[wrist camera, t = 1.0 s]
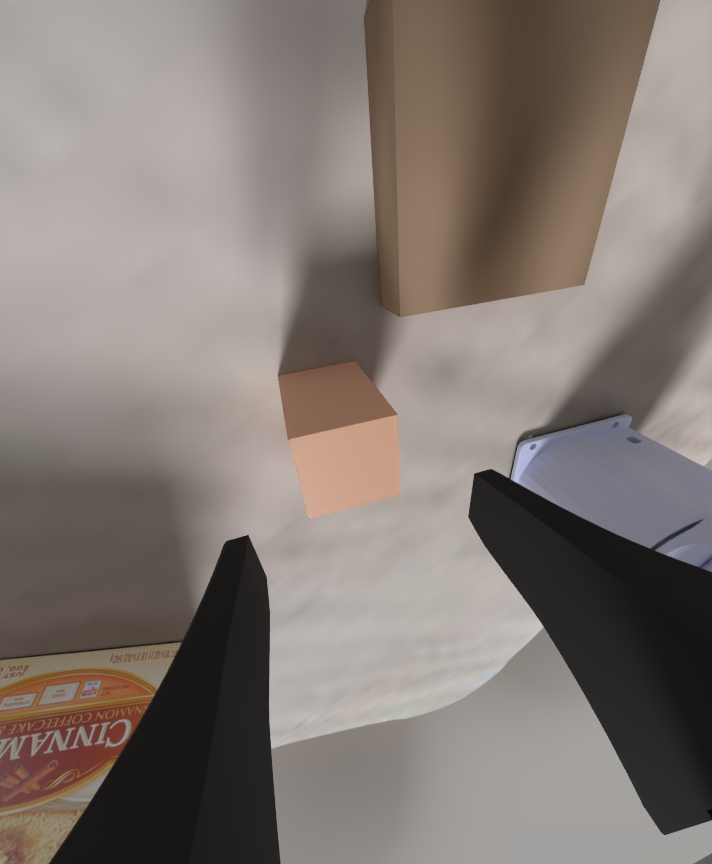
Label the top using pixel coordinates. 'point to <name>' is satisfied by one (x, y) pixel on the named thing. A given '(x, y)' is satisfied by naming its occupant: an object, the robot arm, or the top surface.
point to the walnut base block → (495, 141)
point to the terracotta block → (340, 437)
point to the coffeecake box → (66, 737)
